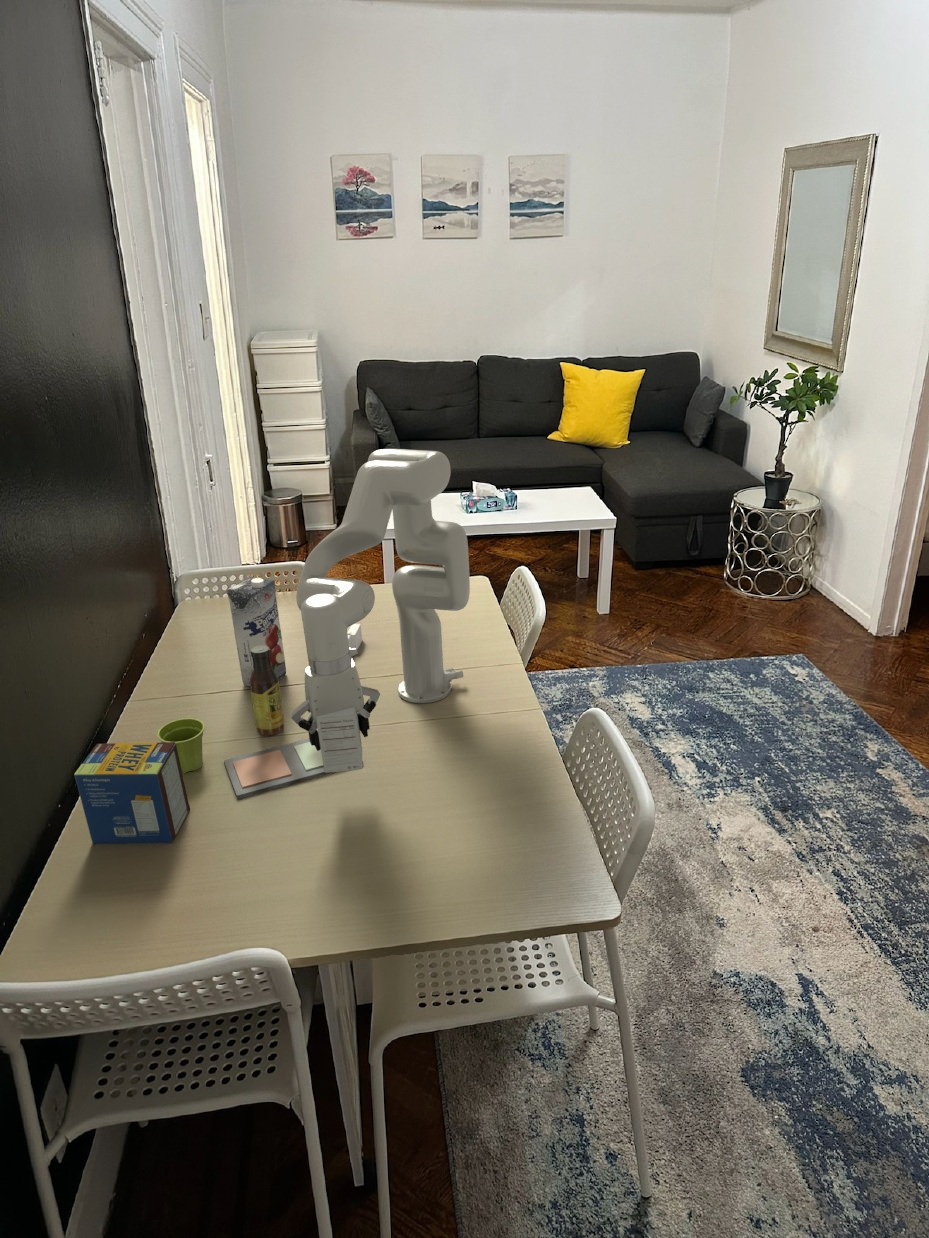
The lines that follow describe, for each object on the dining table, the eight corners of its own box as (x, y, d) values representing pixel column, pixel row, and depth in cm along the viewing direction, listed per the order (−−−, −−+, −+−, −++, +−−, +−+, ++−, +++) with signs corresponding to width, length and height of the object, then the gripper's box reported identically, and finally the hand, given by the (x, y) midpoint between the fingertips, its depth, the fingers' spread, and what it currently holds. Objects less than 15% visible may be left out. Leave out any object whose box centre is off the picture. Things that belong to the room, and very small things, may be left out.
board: (343, 732, 195) (342, 728, 195) (363, 764, 183) (362, 759, 183) (224, 763, 186) (223, 759, 185) (237, 798, 174) (236, 794, 174)
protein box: (113, 810, 172) (96, 742, 166) (191, 809, 172) (177, 741, 165) (90, 845, 163) (72, 774, 157) (173, 844, 162) (157, 773, 156)
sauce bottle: (278, 738, 194) (266, 657, 186) (252, 736, 195) (239, 655, 187) (289, 722, 200) (278, 643, 192) (263, 720, 201) (251, 642, 193)
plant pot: (219, 756, 188) (213, 721, 185) (193, 781, 180) (186, 745, 177) (182, 750, 191) (175, 715, 188) (155, 774, 183) (147, 738, 180)
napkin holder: (357, 636, 241) (355, 617, 239) (384, 648, 234) (382, 628, 232) (312, 655, 232) (310, 635, 230) (339, 668, 225) (337, 648, 222)
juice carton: (237, 687, 216) (220, 585, 205) (262, 668, 225) (246, 569, 214) (268, 692, 213) (252, 589, 202) (291, 673, 222) (278, 573, 211)
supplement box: (325, 751, 173) (316, 696, 168) (363, 747, 174) (356, 692, 168) (323, 773, 167) (314, 717, 161) (362, 770, 167) (355, 713, 161)
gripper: (368, 640, 166) (377, 718, 174) (277, 663, 160) (291, 742, 168) (381, 657, 160) (390, 737, 168) (287, 682, 154) (301, 763, 162)
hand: (340, 739), depth 168 cm, fingers closed on supplement box, 8 cm apart
